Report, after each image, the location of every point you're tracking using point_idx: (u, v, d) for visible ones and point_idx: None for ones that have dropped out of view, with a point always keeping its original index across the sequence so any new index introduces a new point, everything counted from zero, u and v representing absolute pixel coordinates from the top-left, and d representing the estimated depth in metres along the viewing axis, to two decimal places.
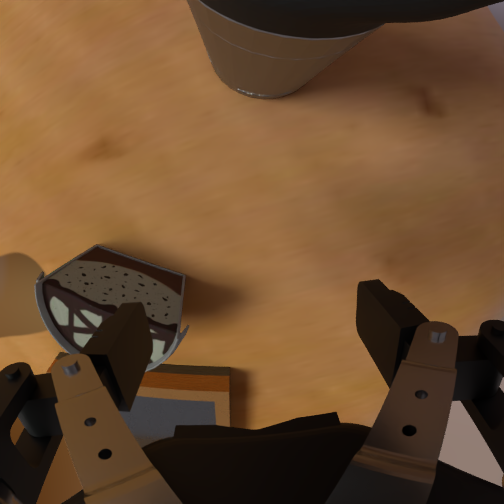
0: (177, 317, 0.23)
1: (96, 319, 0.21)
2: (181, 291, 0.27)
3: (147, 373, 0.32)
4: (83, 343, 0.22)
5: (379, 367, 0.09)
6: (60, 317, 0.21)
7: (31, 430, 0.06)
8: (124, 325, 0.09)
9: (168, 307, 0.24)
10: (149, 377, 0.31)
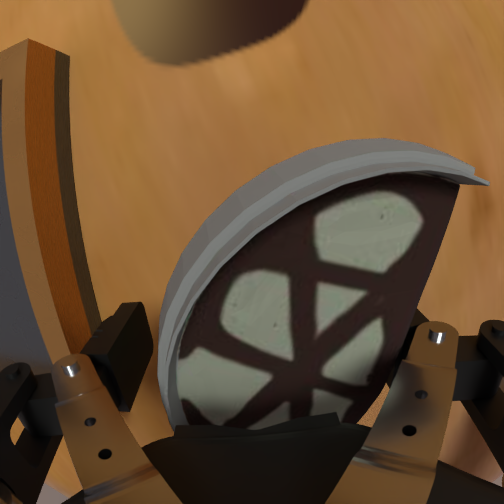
0: None
1: (355, 370, 0.07)
2: None
3: (74, 285, 0.15)
4: (244, 306, 0.07)
5: None
6: (347, 229, 0.06)
7: (31, 430, 0.06)
8: (124, 325, 0.09)
9: None
10: (70, 297, 0.14)
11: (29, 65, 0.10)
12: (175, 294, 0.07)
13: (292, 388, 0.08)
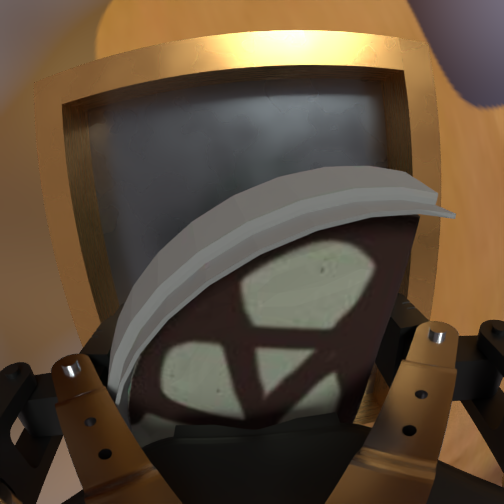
0: None
1: None
2: None
3: None
4: (182, 376, 0.06)
5: (379, 367, 0.09)
6: (281, 290, 0.06)
7: (31, 430, 0.06)
8: None
9: None
10: None
11: None
12: (110, 370, 0.06)
13: None
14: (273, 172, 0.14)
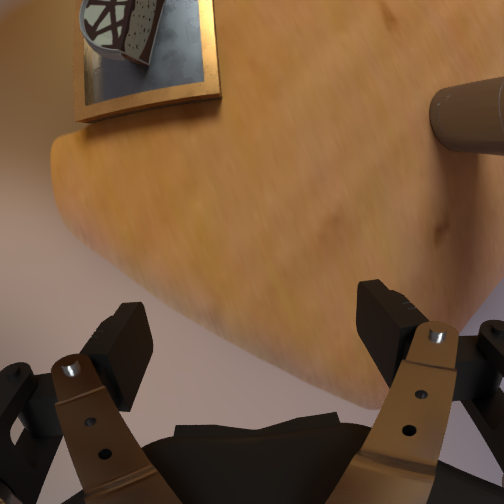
0: (128, 53, 0.25)
1: None
2: (140, 60, 0.29)
3: None
4: None
5: (379, 367, 0.09)
6: None
7: (31, 430, 0.06)
8: (124, 325, 0.09)
9: (133, 47, 0.26)
10: None
11: None
12: None
13: (110, 7, 0.22)
14: None
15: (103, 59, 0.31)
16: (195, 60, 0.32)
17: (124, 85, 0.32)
